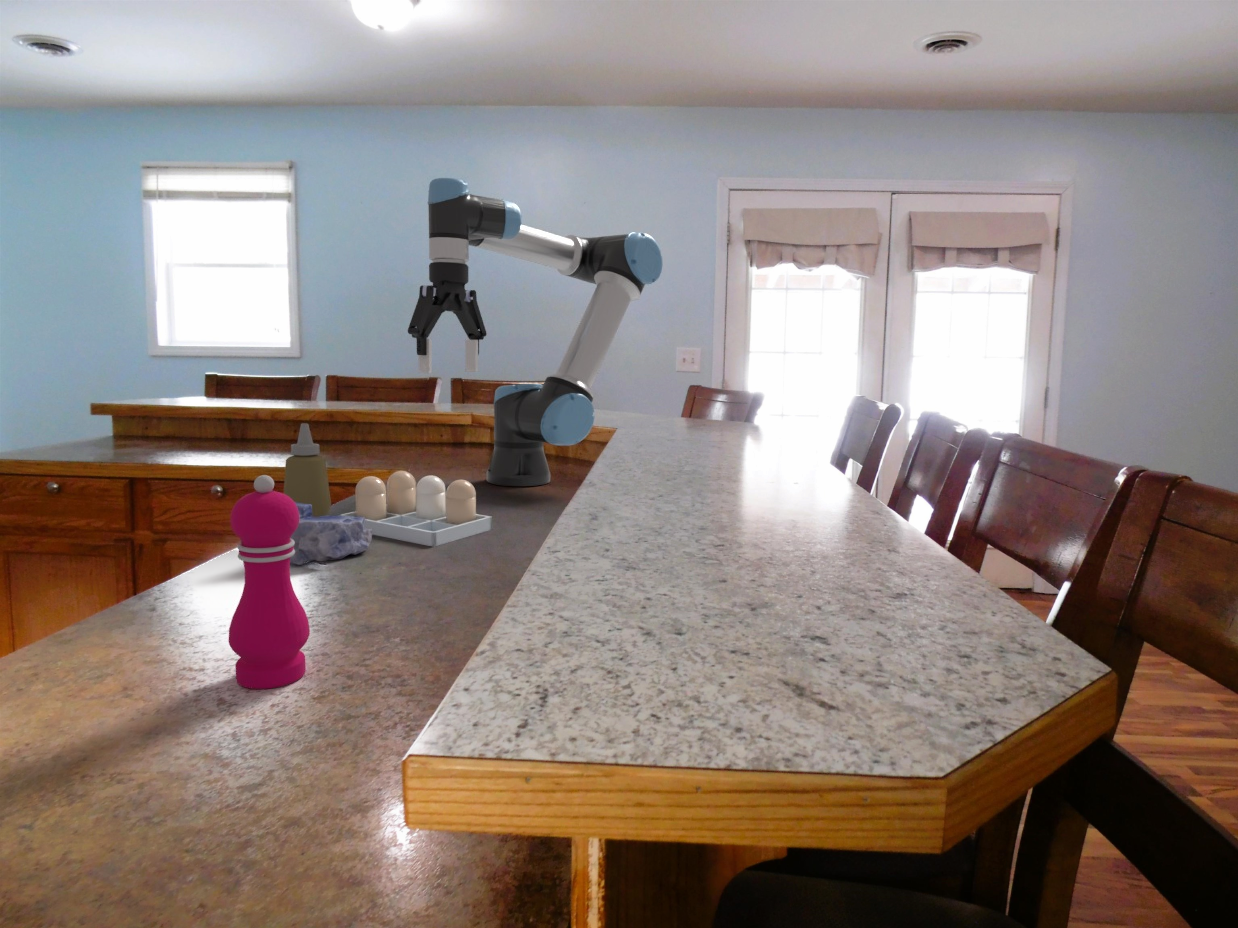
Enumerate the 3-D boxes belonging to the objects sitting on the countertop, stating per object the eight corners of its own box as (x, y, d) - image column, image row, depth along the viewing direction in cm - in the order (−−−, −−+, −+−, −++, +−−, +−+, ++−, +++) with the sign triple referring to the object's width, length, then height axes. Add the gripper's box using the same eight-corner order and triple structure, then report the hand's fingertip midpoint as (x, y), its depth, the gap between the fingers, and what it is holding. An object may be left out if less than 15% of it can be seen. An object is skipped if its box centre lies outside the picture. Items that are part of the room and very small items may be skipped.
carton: (401, 517, 148) (400, 501, 147) (492, 533, 137) (492, 516, 137) (338, 532, 135) (338, 514, 135) (434, 551, 125) (433, 532, 124)
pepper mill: (224, 671, 78) (215, 472, 75) (300, 656, 83) (294, 467, 80) (238, 698, 73) (228, 484, 70) (319, 681, 77) (313, 478, 74)
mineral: (258, 507, 111) (283, 490, 121) (255, 571, 113) (279, 548, 123) (363, 520, 113) (379, 501, 122) (357, 582, 115) (373, 559, 124)
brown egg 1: (372, 521, 140) (371, 473, 139) (392, 525, 137) (392, 476, 136) (349, 527, 136) (348, 476, 134) (370, 531, 133) (369, 479, 132)
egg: (451, 524, 140) (451, 475, 139) (431, 529, 136) (431, 479, 134) (430, 520, 142) (429, 472, 141) (410, 525, 138) (409, 476, 137)
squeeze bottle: (315, 532, 135) (312, 427, 132) (272, 528, 136) (269, 424, 134) (340, 522, 143) (338, 422, 140) (300, 518, 144) (297, 420, 141)
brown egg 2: (399, 514, 146) (399, 467, 144) (421, 518, 144) (421, 470, 142) (380, 519, 141) (380, 471, 140) (403, 523, 139) (403, 474, 138)
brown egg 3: (459, 525, 139) (459, 476, 138) (481, 529, 137) (481, 479, 135) (439, 530, 135) (439, 480, 134) (462, 535, 132) (462, 483, 131)
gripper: (475, 269, 166) (475, 370, 170) (387, 256, 145) (388, 372, 148) (503, 268, 163) (503, 371, 166) (417, 255, 141) (418, 374, 144)
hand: (449, 372), depth 157 cm, fingers open, 13 cm apart
